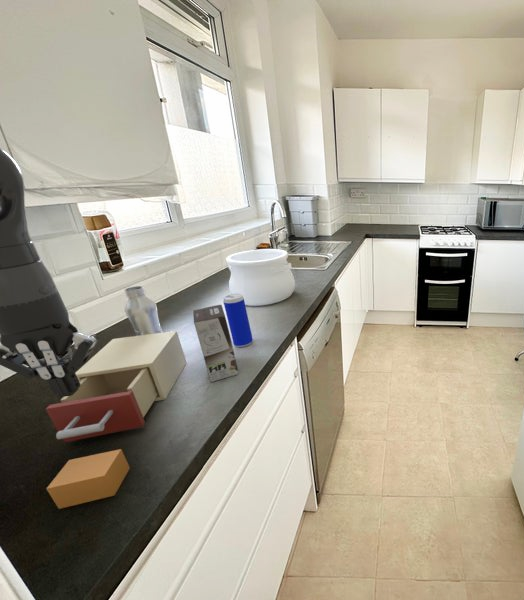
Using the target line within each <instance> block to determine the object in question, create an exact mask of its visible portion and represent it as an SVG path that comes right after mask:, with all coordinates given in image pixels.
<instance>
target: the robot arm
mask: <svg viewBox="0 0 524 600" xmlns="http://www.w3.org/2000/svg"><path fill="white" fill-rule="evenodd" d="M25 193H26V192H25V180H24V176H23V173H22V170H21V167H20V166H19V164H18V163H17V162H16V160H15V159H14V158H13V157H12V156H11V155H10V154H9V153H8V152H7V151H5V150H4V149H2V148H1V147H0V366H1V367H4V368H5V369H8V370H10V371H12V372H14V373H16V374H18V375H20V376H23V377H25V378H27V379H33V378H35V377H37V378H38V377H39V378H41V379H42V380H46V382H47V384H48V385H49V387H50V389H51V390H52V393H53V394H55V395H57V397H58V398H63V397H65V396H72V395H73V394H74V393H75V392H76V391H77V390H78V388H79V387H80V382H79V380H78V378H77V376H76V374H75V373H76V372H77V371H78V370H79V369H80V368H81V367H82V366H84V365H85V364H86V363H87V362H88V359H89V358H90V356H91V354H92V352H93V351H94V349H95V347H96V345H97V344H98V342H99V340H100V336H99V335H98V334H90V335H87V334H83V333H81V332H79V331H78V328H77V327H76V326H75V325H74V324H72V322H71V321H70V318H69V317H70V315H69V311H68V309H67V307H66V305H65V302H64V300H63V298H62V296H61V294H60V292H59V289H58V288H57V285H56V284H55V283H56V282H55V281H54V279H53V276H52V274H51V272H50V271H49V270H48V268H47V267H46V265H45V264H44V262H43V260H42V259H41V256H40V254H39V252H38V250H37V247H36V246H35V245H36V244H35V243H34V241H33V239H32V237H31V234H30V232H29V227H28V220H27V211H26V199H25V196H26V195H25ZM73 344H74V349H75V350H76V351H75V353H74V355H73V351H72V346H73Z"/></svg>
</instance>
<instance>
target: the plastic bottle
mask: <svg viewBox="0 0 524 600" xmlns="http://www.w3.org/2000/svg"><path fill="white" fill-rule="evenodd" d="M146 293H147V292H146V290H145V289H144V286H142V285H136V286H131V287H127V288H125V289H124V294H125V297H126V298H128V299H127V301H126V303H125V305H124V313H125V315H126V317H127V318H128V320H129V322H130V323H131V326H132V328H133V329H134V332H135V336H140V335H148V334H155V333H163V332H164V331H163V329H162V326H161V324H160V323H161V322H160V318H159V311H158V305H157V303H156V302H155V300H153V299H152V298H151V297H149V296H147V295H146Z"/></svg>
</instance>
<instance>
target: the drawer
mask: <svg viewBox="0 0 524 600" xmlns="http://www.w3.org/2000/svg"><path fill="white" fill-rule="evenodd" d="M158 394H159V393H158V390H157V387H156V385H155V382H154V379H153V377H152V374H151V371H150V368H149V367H145V368H138V369H132V370H125V371H119V372H112V373H106V374H99V375H93V376H86V377H84V378H83V379H82V380H81V381H80V387H79V388H78V390H77V391H76V392H75V393H74V394H73V395H72V396H65V397H61V399H60V402H59V403H52V404H49V405H48V406H47V407H46V408H45V411H46V413H47V414H48V416H49V418H50V419H51V422H52V424H53V425H54V427H55V429H56V431H57V432H56V434H55V435H56V436H55V437H56V439H57V440H62V441H63V443H69V442H72V441H78V440H82V439H89V438H93V437H98V436H103V435H108V434H109V435H110V434H113V433H118V432H124V431H129V430H134V429H138V428H139V429H140V428H143V427H144V426H145V424H146V421H145V417H146V414H147V413H148V412H149V410H150V408H151V406H152V405H153V403H155V401H154V400H155V398H156V397H157V395H158Z"/></svg>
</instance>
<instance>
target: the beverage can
mask: <svg viewBox="0 0 524 600" xmlns="http://www.w3.org/2000/svg"><path fill="white" fill-rule="evenodd" d="M222 301H223V306H224V310H225V314H226V315H225V316H226V318H227V319H226V320H227V324H228V328H229V332H230V336H231V340H232V344H233V345H234V346H235V347H237V348H244V347H247V346H250V345H251V344H252V343H253V341H254V338H253V334H252V330H251V329H252V328H251V325H250V320H249V315H248V311H247V307H246V306H247V305H245V301H244V298H243V296H242V294H231V293H229V294H227V295H225V296H224V297H223V300H222Z"/></svg>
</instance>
